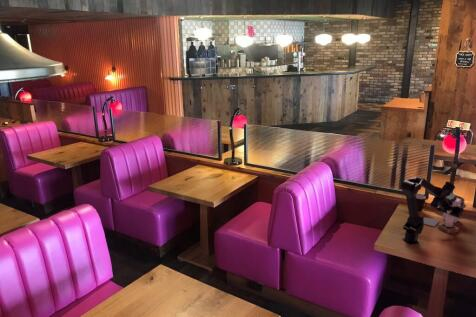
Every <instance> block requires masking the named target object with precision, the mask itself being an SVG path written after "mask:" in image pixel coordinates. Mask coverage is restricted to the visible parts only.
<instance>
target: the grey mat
mask: <svg viewBox="0 0 476 317" xmlns="http://www.w3.org/2000/svg"><path fill="white" fill-rule="evenodd" d="M423 219H424V226H428V227H432V228H436V226H438V224H440V220H439V219H434V218H431V217H427V216H424V217H423Z"/></svg>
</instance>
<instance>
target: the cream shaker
mask: <svg viewBox="0 0 476 317" xmlns="http://www.w3.org/2000/svg"><path fill="white" fill-rule="evenodd" d="M450 212H451V210H450V211H447V213H446V219H445V220H444V223H445V226H447V227H446V228H449V227H453V225H454V223H455V222H454V216H451V215H449V214H450Z"/></svg>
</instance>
